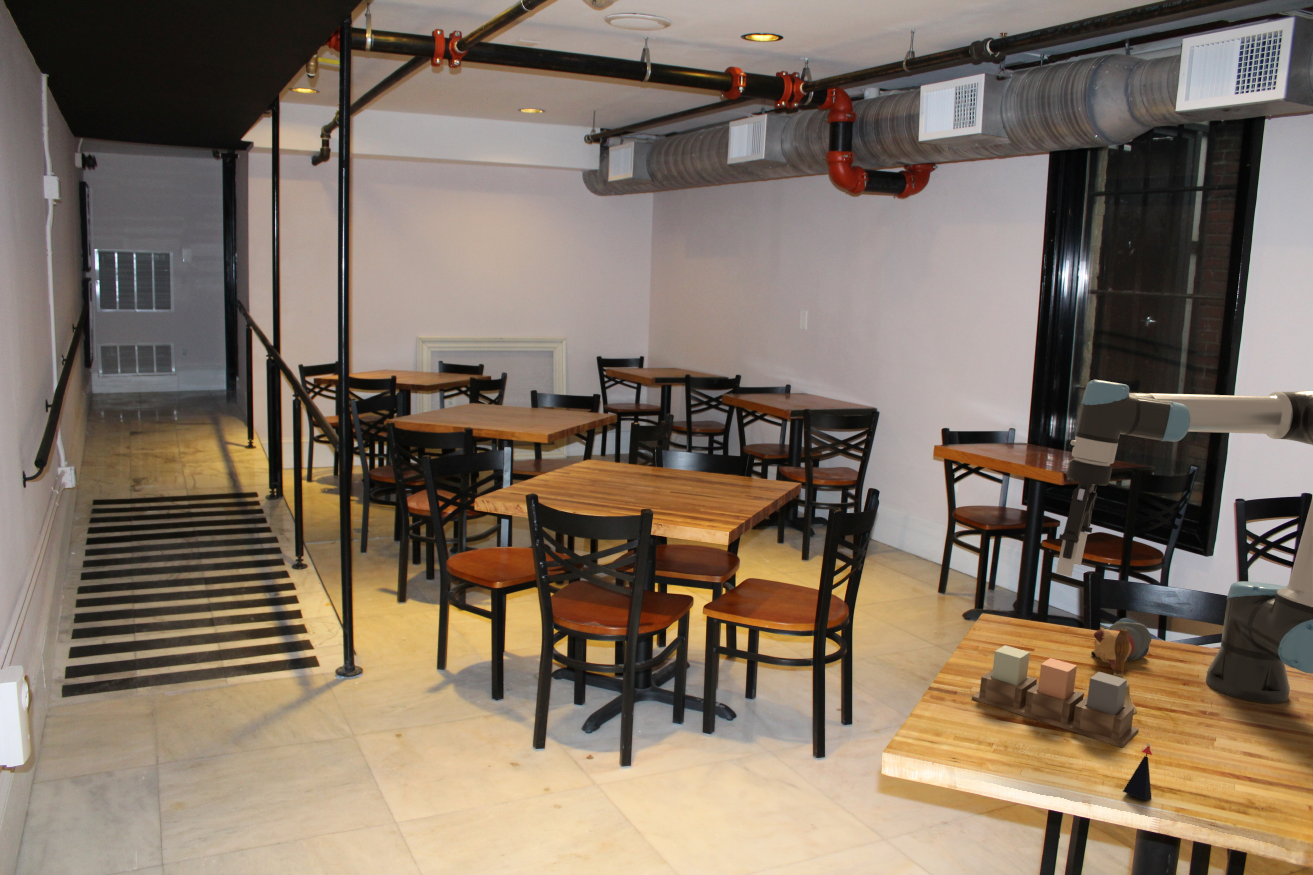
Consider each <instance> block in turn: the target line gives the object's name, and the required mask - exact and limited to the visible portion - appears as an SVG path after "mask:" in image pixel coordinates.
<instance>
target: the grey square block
mask: <svg viewBox="0 0 1313 875" xmlns="http://www.w3.org/2000/svg"><path fill="white" fill-rule="evenodd" d="M1113 675H1114V674H1113ZM1113 675H1112V674H1110V673H1109V674H1108V673H1105V672H1101V671H1097V672H1096V673H1095V674H1094V675H1093V676H1091V677H1090V678H1089V686H1088V692H1087V696H1088V698H1087V706H1086V707H1089V708H1092V709H1096V710H1099V711H1102V712H1105V713H1109V714H1112V715H1115V716H1116V715H1118V714H1119V713H1120V712H1121V711H1122V710H1123V705H1124V698H1125V691H1126V683H1127V681H1128V679H1126V678H1124V677H1123V678H1120V677H1116V676H1113Z"/></svg>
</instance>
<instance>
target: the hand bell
mask: <svg viewBox="0 0 1313 875" xmlns="http://www.w3.org/2000/svg"><path fill="white" fill-rule="evenodd" d="M1114 650H1115V656H1116V662H1115V669H1113V676H1116V677H1120V678H1123V679H1124V669H1125V663H1124V661H1125V658H1126V656H1127V654H1128V651H1129V637H1128V631H1127V629H1120V632H1119V634H1118V635H1117V638H1116V640H1115V647H1114ZM1125 662H1126V661H1125ZM1130 693H1131V691H1130V682H1129V681H1128V680H1127V683H1126V691H1125V698H1124V705H1127V706H1130V707H1134V713H1133V716H1134V715H1136V713H1138V709H1137V707H1136V705H1135V704H1134V703H1133V701H1132V698H1131V694H1130Z"/></svg>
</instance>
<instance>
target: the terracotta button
mask: <svg viewBox="0 0 1313 875" xmlns="http://www.w3.org/2000/svg"><path fill="white" fill-rule="evenodd" d="M1077 668H1078V665H1076V664H1073V663H1070V662H1066V661H1063V660H1058V659H1054V658H1051V657H1050V658H1048V659H1046V660H1045V661H1044V662H1042V663H1041V664H1040V669H1039V670H1040V671H1039V678H1038V679H1039V680H1038V683H1039V685H1038V692H1040V693H1043V694H1046V695H1050V696H1053V697H1056V698H1060V699H1063V700H1067V699H1068V698H1069V697H1070V696H1072V695H1073V693H1074V690H1075V682H1076V676H1077Z"/></svg>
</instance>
